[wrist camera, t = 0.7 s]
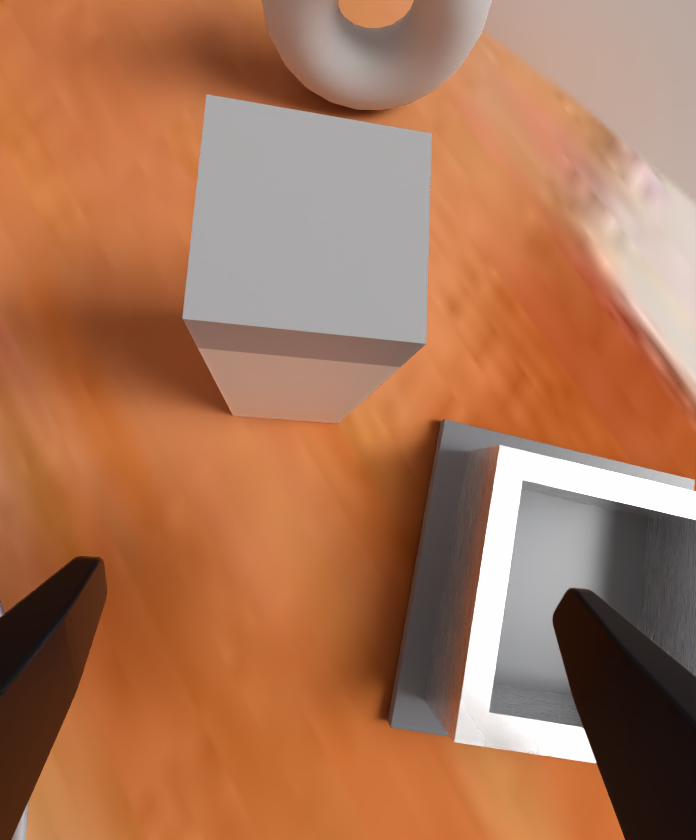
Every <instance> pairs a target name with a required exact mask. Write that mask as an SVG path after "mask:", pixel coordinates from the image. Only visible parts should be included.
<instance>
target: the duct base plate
mask: <svg viewBox="0 0 696 840" xmlns="http://www.w3.org/2000/svg"><path fill="white" fill-rule="evenodd" d="M497 445H502V446H506V447H510V448H514V449H519V450H523V451H527V452H531V453H535V454H540V455H544V456H548V457H552V458H556V459H560V460H565V461H569V462H573V463H577V464H581V465H586V466H590V467H594V468H598V469H602V470H607V471H611V472H615V473H619V474H623V475H627V476H632V477H636V478H640V479H644V480H648V481H653V482H657V483H661V484H665V485H669V486H673V487H678V488H682V489H686V490H690V491H694V482H695V480H693V479H688V478H684V477H680V476H676V475H672V474H668V473H664V472H660V471H655V470H651V469H647V468H643V467H639V466H635V465H631V464H627V463H622V462H618V461H614V460H610V459H606V458H602V457H598V456H594V455H590V454H585V453H581V452H577V451H573V450H569V449H565V448H561V447H557V446H552V445H548V444H544V443H540V442H536V441H532V440H528V439H524V438H519V437H515V436H511V435H507V434H503V433H499V432H495V431H491V430H486V429H482V428H478V427H474V426H470V425H466V424H462V423H458V422H453V421H449V420H442V421H441V422H440V428H439V434H438V439H437V445H436V451H435V456H434V462H433V467H432V473H431V479H430V484H429V490H428V496H427V501H426V507H425V513H424V518H423V524H422V529H421V535H420V541H419V546H418V552H417V558H416V563H415V569H414V575H413V580H412V586H411V591H410V597H409V603H408V608H407V614H406V620H405V625H404V631H403V637H402V642H401V648H400V653H399V659H398V665H397V670H396V676H395V682H394V687H393V693H392V699H391V704H390V710H389V715H388V723H389V725H390V727H391V728H397V729H404V730H410V731H417V732H424V733H430V734H437V735H443V736H449V734H448V733H447V731H446V730H445V729H444V727H443V726H442V724H441V723H440V722H439V720H438V719H437V718H436V716H435V715H434V713H433V712H432V711H431V709H430V708H429V706H428V705H427V704H426V702H425V701H424V698H425V692H426V686H427V680H428V674H429V668H430V662H431V656H432V650H433V644H434V638H435V632H436V626H437V620H438V614H439V608H440V602H441V596H442V590H443V584H444V578H445V572H446V566H447V560H448V554H449V548H450V542H451V536H452V530H453V524H454V518H455V512H456V506H457V500H458V494H459V488H460V482H461V476H462V470H463V464H464V458H465V452H466V451H470V450H475V449H481V448H486V447H492V446H497ZM647 525H648V518H646V517H642V516H638V515H633V514H629V513H624V512H620V511H616V510H611V509H607V508H602V507H598V506H594V505H589V504H585V503H580V502H576V501H572V500H567V499H563V498H558V497H554V496H550V495H545V494H541V493H537V492H532V491H528V490H523V489H521V492H520V499H519V506H518V513H517V520H516V527H515V534H514V541H513V548H512V555H511V562H510V569H509V576H508V583H507V590H506V597H505V604H504V611H503V618H502V625H501V632H500V639H499V646H498V653H497V660H496V667H495V674H494V681H493V683H497V684H503V685H509V686H515V687H521V688H527V689H532V690H538V691H544V692H550V693H556V694H562V695H568V696H572V693H571V690H570V686H569V683H568V679H567V675H566V672H565V668H564V664H563V661H562V657H561V653H560V650H559V646H558V642H557V639H556V635H555V631H554V627H553V622H552V617H553V613H554V610H555V609H556V607H557V605H558V604H559V602H560V600H561V599H562V597H563V595H564V594H565V592H566V591H567V590H568V589H569V588H586V589H590V590H591V591H593V592H594V593H596V594H597V595H598V596H599V597H600V598H602V599H603V600H604V601H605V602H606V603H608V604H609V605H610V606H611V607H612V608H614V609H615V610H616V611H617V612H618V613H620V614H621V615H622V616H623V617H625V618H626V619H627V620H628V621H629V622H631V623H632V624H633V625H634V626H635V627H637V628H638V619H639V608H640V598H641V587H642V577H643V566H644V556H645V545H646V535H647Z"/></svg>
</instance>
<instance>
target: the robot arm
mask: <svg viewBox="0 0 696 840" xmlns="http://www.w3.org/2000/svg"><path fill="white" fill-rule="evenodd" d="M106 596H107V584H106V575H105V567H104V562H103V560H102V559H101V558H99V557H88V556H79V557H76V558H74V559H73V560H71V561H70V562H69V563H68V564H66V565H65V566H64V567H62V568H61V569H60V570H59V571H57V572H56V573H55V574H54V575H52V576H51V577H50V578H49V579H47V580H46V581H45V582H44V583H42V584H41V585H40V586H39V587H37V588H36V589H35V590H34V591H32V592H31V593H30V594H29V595H27V596H26V597H25V598H24V599H22V600H21V601H20V602H19V603H17V604H16V605H15V606H14V607H12V608H11V609H10V610H9V611H7V612H6V613H5V614H4V615H2V616H1V617H0V840H12V838H13V835H14V833H15V831H16V829H17V826H18V824H19V822H20V819H21V817H22V815H23V813H24V810H25V808H26V806H27V803H28V801H29V799H30V797H31V794H32V792H33V790H34V788H35V785H36V783H37V781H38V778H39V776H40V774H41V772H42V769H43V767H44V765H45V762H46V760H47V758H48V756H49V753H50V751H51V749H52V746H53V744H54V742H55V740H56V737H57V735H58V733H59V730H60V728H61V726H62V724H63V721H64V719H65V717H66V714H67V712H68V710H69V708H70V705H71V703H72V700H73V698H74V696H75V693H76V691H77V688H78V685H79V682H80V679H81V676H82V673H83V670H84V667H85V664H86V661H87V658H88V654H89V651H90V648H91V645H92V642H93V639H94V635H95V632H96V629H97V626H98V623H99V620H100V617H101V613H102V610H103V607H104V604H105V600H106ZM552 622H553V627H554V631H555V635H556V639H557V642H558V646H559V650H560V653H561V657H562V661H563V664H564V668H565V672H566V675H567V679H568V683H569V686H570V690H571V693H572V696H573V700H574V703H575V706H576V709H577V711H578V714H579V717H580V720H581V722H582V725H583V728H584V730H585V733H586V736H587V738H588V741H589V744H590V747H591V749H592V752H593V755H594V757H595V760H596V763H597V765H598V768H599V771H600V773H601V776H602V779H603V781H604V784H605V787H606V789H607V792H608V795H609V797H610V800H611V803H612V806H613V808H614V811H615V814H616V816H617V819H618V822H619V824H620V827H621V830H622V832H623V835H624V838H625V840H696V676H695V675H693V674H692V673H691V672H690V671H689V670H687V669H686V668H685V667H684V666H683V665H681V664H680V663H679V662H678V661H676V660H675V659H674V658H673V657H672V656H670V655H669V654H668V653H667V652H666V651H664V650H663V649H662V648H661V647H660V646H658V645H657V644H656V643H655V642H654V641H652V640H651V639H650V638H649V637H647V636H646V635H645V634H644V633H643V632H641V631H640V630H639V629H638V628H637V627H635V626H634V625H633V624H632V623H631V622H629V621H628V620H627V619H626V618H625V617H623V616H622V615H621V614H620V613H618V612H617V611H616V610H615V609H614V608H612V607H611V606H610V605H609V604H608V603H606V602H605V601H604V600H603V599H602V598H600V597H599V596H598V595H597V594H596V593H594V592H593V591H591V590H590V589H586V588H569V589H568V590H567V591H566V592H565V594H564V595H563V597H562V599H561V600H560V602H559V604H558V605H557V607H556V609H555V610H554V613H553V617H552Z"/></svg>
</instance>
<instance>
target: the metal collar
mask: <svg viewBox="0 0 696 840" xmlns="http://www.w3.org/2000/svg"><path fill="white" fill-rule="evenodd" d="M521 489H523V490H528V491H532V492H537V493H541V494H545V495H550V496H554V497H558V498H563V499H567V500H572V501H576V502H580V503H585V504H589V505H594V506H598V507H602V508H607V509H611V510H616V511H620V512H624V513H629V514H633V515H638V516H642V517H646V518H648V525H647V535H646V545H645V556H644V566H643V577H642V587H641V598H640V608H639V619H638V629H639V630H640V631H641V632H643V633H644V634H645V635H646V636H647V637H649V638H650V639H651V640H652V641H654V642H655V643H656V644H657V645H658V646H660V647H661V648H662V649H663V650H664V651H666V652H667V653H668V654H669V655H670V656H672V657H673V658H674V659H675V660H676V661H678V662H679V663H680V664H681V665H683V666H684V667H685V668H686V669H687V670H689V671H690V672H691V673H692V674H693V675H695V676H696V492H694V491H690V490H686V489H682V488H678V487H673V486H669V485H665V484H661V483H657V482H653V481H648V480H644V479H640V478H636V477H632V476H627V475H623V474H619V473H615V472H611V471H607V470H602V469H598V468H594V467H590V466H586V465H581V464H577V463H573V462H569V461H565V460H560V459H556V458H552V457H548V456H544V455H540V454H535V453H531V452H527V451H523V450H519V449H514V448H510V447H506V446H502V445H497V446H492V447H486V448H481V449H475V450H470V451H466V452H465V458H464V464H463V470H462V476H461V482H460V488H459V494H458V500H457V506H456V512H455V518H454V524H453V530H452V536H451V542H450V548H449V554H448V560H447V566H446V572H445V578H444V584H443V590H442V596H441V602H440V608H439V614H438V620H437V626H436V632H435V638H434V644H433V650H432V656H431V662H430V668H429V674H428V680H427V686H426V692H425V698H424V701H425V702H426V704H427V705H428V706H429V708H430V709H431V711H432V712H433V713H434V715H435V716H436V718H437V719H438V720H439V722H440V723H441V724H442V726H443V727H444V729H445V730H446V731H447V733H448V734H449V736H450V737H451V738H452V740H453V741H454V742H457V743H464V744H470V745H477V746H484V747H490V748H497V749H504V750H510V751H517V752H524V753H531V754H537V755H544V756H551V757H557V758H564V759H571V760H577V761H584V762H591V763H596V760H595V757H594V755H593V752H592V749H591V747H590V744H589V741H588V738H587V736H586V733H585V730H584V728H583V725H582V722H581V720H580V717H579V714H578V711H577V709H576V706H575V703H574V700H573V696H568V695H562V694H556V693H550V692H544V691H538V690H532V689H527V688H521V687H515V686H509V685H503V684H497V683H493V681H494V674H495V667H496V660H497V653H498V646H499V639H500V632H501V625H502V618H503V611H504V604H505V597H506V590H507V583H508V576H509V569H510V562H511V555H512V548H513V541H514V534H515V527H516V520H517V513H518V506H519V499H520V492H521Z"/></svg>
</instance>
